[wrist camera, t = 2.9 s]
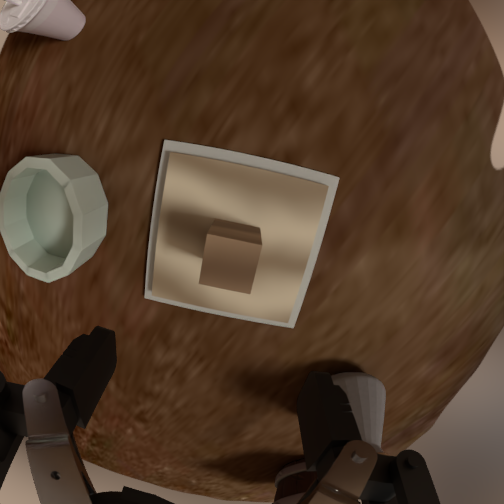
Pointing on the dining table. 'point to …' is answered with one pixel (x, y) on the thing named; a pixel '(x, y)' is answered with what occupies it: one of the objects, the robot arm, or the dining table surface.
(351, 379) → the coffee pot
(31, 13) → the smoothie
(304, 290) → the tray
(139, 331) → the dining table surface
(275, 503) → the flowerpot
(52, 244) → the bowl
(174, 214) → the lid
